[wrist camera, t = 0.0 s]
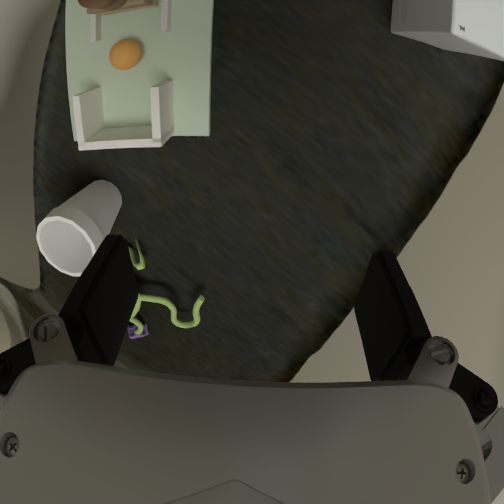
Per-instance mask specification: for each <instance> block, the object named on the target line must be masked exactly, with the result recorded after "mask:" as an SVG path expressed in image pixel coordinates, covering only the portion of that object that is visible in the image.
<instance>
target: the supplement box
mask: <svg viewBox="0 0 504 504" xmlns="http://www.w3.org/2000/svg"><path fill="white" fill-rule="evenodd" d="M390 32H391V33H394V34H398V35H401V36H404V37H408V38H411V39H414V40H417V41H421V42H424V43H427V44H429V45H432V46H435V47H438V48H441V49H444V50H449V51H456V52H462V53H468V54H473V55H479V56H483V57H488V58H493V59H497V60H501V61H504V0H393V4H392V17H391V28H390Z"/></svg>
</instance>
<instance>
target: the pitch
mask: <svg viewBox="0 0 504 504" xmlns="http://www.w3.org/2000/svg"><path fill="white" fill-rule="evenodd" d="M213 8H214V0H158V7H151V8H144V9H137V10H131V11H125V12H119V13H114V14H109V15H96V14H87V8H84V7H82V6H81V5H80V4H79V3H78V0H66V19H65V37H66V66H67V82H68V94H69V104H70V113H71V121H72V129H73V136H74V141H78V147H79V151H80V150H94V149H111V148H134V147H162V146H163V145H164V143H165V142H166V141H167V140H168V139H169V138H170V137H171V136H209V135H210V104H211V58H212V30H213ZM125 39H130V40H134V41H136V42H137V43H138V44H139V45H140V47H141V50H142V55H141V58H140V61H139V62H138V63H137V64H136V65H135V66H134V67H133V68H131V69H128V70H119V69H116V68H115V67H113V66H112V65H111V63H110V61H109V53H110V50H111V48H112V47H113V46H114V45H115V44H116V43H117V42H119V41H121V40H125Z"/></svg>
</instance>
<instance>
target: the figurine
mask: <svg viewBox="0 0 504 504" xmlns="http://www.w3.org/2000/svg"><path fill="white" fill-rule="evenodd" d="M136 245H137V248H138V252H139V256H140V263H136V261H135V257H134V253H133V250H132V249H131V248H130V247H129V246H128V248H129V252H130V256H131V260H132V262H133V265H134V266H135V267H136V268H137V269H138V270H141V269H143V268H145V260H144V257H143V255H142V253H141V250H140V248H139V243H138V241H137V239H136ZM204 300H205V299H204V297H203V296H202V295H200V296H199V297H198V299H197V300H196V302H195V303H194V308H193V317H194V321H190V322H182V321H179V320H178V319H177V318H176V314H177V310H176V307H175V305H174V304H173V303H172V302H171V301H170V300H168V299H167V298H164V297H161V296H155V295H147V294H140V293H139V296H138V300H137V302H136V305H135V308H134V310H133V313H132V316H131V318H130V322H132V323H134V324H135V326H133V325H130V326H129V327H127V328H128V331H129V337H130V338H131V339H134V338H138V337H143V336H145V335H148V329H147V324H145V323H141V322H140V321H139V320H138V319H136V318H134V316H135V315H136V313H137V312H138V311H139V308H140V304H141V301H149V302H156V303H161V304H164V305H166V306H167V307H168V308H169V309H170V310H171V321H172V323H174V324H175V325H176V326H178V327H181V328H190V327H194V326H196V325H198V324H199V322H200V315H199V310H200V306H201V304H202V303H203V302H204Z"/></svg>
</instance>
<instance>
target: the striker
mask: <svg viewBox="0 0 504 504" xmlns="http://www.w3.org/2000/svg"><path fill="white" fill-rule="evenodd" d="M78 3H79V4H80V5H81V6H82V7H84V8H87V14H96V15H109V14H114V13H119V12H125V11H131V10H137V9H144V8H151V7H158V0H78Z"/></svg>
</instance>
